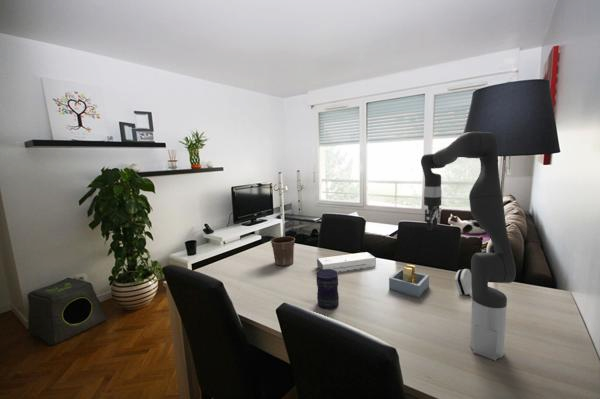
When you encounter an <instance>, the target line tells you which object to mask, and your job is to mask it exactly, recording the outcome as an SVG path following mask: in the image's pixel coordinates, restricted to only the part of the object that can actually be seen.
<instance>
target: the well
mask: <svg viewBox="0 0 600 399" xmlns="http://www.w3.org/2000/svg"><path fill="white" fill-rule="evenodd" d="M429 287H430V275H429V274H424V273H422V272H416V271H415V284H414V283H410V282H406V281H403V268H400V269H399V270H397V271H396V272H395V273H393V274H392V275H391V276H390V277H389V278H388V290H390V291H393V292H397V293H400V294H402V295H408V296H411V297H413V298H417V299H419V298H421V297H422V296H423V294H424V293H425V292H426V290H428V288H429Z"/></svg>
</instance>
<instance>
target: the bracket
mask: <svg viewBox="0 0 600 399" xmlns="http://www.w3.org/2000/svg"><path fill="white" fill-rule="evenodd" d="M402 269H403V281H406V282H410V283H414V284H415V272H416V265H412V264H406V266H403V268H402Z"/></svg>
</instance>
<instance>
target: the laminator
mask: <svg viewBox="0 0 600 399" xmlns="http://www.w3.org/2000/svg"><path fill="white" fill-rule="evenodd" d="M376 263H377V260H376V257H375V256H374V255H373V254H371V253H369V252H367V251H365V252H364V251H363V252H357V253H350V254H341V255H334V256H326V257H319V258H318V257H317V258H316V266H317V267H318V268H319V270H323V269H332V270H335V271H337V273H340V272H339V271H341V272H347V270H349V271H355V270H354V269H356V270H361V269H360V268H363V269H368V268H367V267H370V268H375V267H376ZM374 266H375V267H374Z"/></svg>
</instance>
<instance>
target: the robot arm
mask: <svg viewBox="0 0 600 399" xmlns="http://www.w3.org/2000/svg"><path fill="white" fill-rule="evenodd" d="M459 158H464V159H479V161H480V172H479V175H478V177H477V179H476V180H475V182H474V184H473V185H472V187H471V189H470V192H469V195H468V197H469V198H468V199H469V207H470V214H471V216H472V217H473V219H474V220H475V221H476V223H477V224H478V225H479V226H480V227H481V228H482V230H483V231H484V232H485V233H486V234H487V236H488V238H489V239H490V241H491V244H492V245H493V246H492V247H493V250H494V252H475V253H473V254H472V256H471V260H470V272H471V286H472V297H471V310H470V311H471V316H470V317H471V318H470V336H469V339H470V340H469V342H470V343H469V345H470V347H471V350H472V353H473V354H476V355H479V356H482V357H484V358H487V359H490V360H493V361H495V362H496V361H497V360H499V359H502V358H503V357H504V355H505V338H506V322H507V304H508V299H507V295H506V294H505V293H504V292H502V291H501V290H499V289H496V288H493V287H492V286H491V287H490V286H489V283H493V284H494V283H497V284H512V283H513V282H514V281H515V280H516V277H517V276H516V275H517V271H516V263H515V258H514V254H513V251H512V247H511V243H510V239H509V235H508V234H509V233H508V228H507V222H506V214H505V213H506V212H505V205H504V199H503V198H504V197H503V192H502V186H501V179H500V170H499V145H498V139H497V137H496V135H495V134H494V133H493V132H490V131H469V132H465V133H462V134H461V135H460V136H459V137H457V138H456V139H454V141H453V142H451V143H450V144H449V145H448V146H446V147H444V148H443V147H442V148H441V149H439V150H437V151H435V153H426V154H423V155H422V157H421V159H420V164H421V168H422V172H423V176H424V189H423V205H424V206H425V207H427V209H426V208H425V209H424V222H425V223H426V231H430V232H431V231H432V230H433V228H437V227H438V220H439V218H440V206H442V191H443V190H442V176H441V174H440V173H435V172H433V171H432V170H435V169H443V168H445V167H446V166H447V165H450V164H453V163H454V162H456V161H457V159H459Z"/></svg>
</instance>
